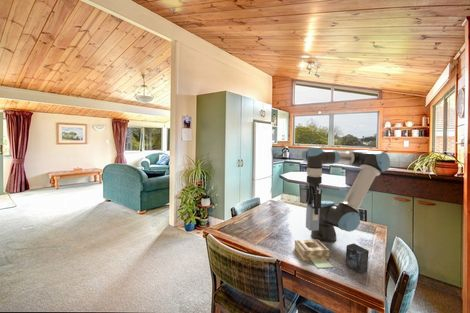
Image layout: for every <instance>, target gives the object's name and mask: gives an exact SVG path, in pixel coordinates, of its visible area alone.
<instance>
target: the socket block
mask: <svg viewBox="0 0 470 313" xmlns="http://www.w3.org/2000/svg"><path fill="white" fill-rule="evenodd" d="M294 250H295V252H297V254H298V255H299V256H300V257H301V259H302V261H311V259H326V260H329V259H330V249H329V248H328V247H327V246H326V245H325V244H323V242H322V241H320V240H317V239H297V240H295V239H294Z"/></svg>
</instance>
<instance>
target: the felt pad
mask: <svg viewBox="0 0 470 313" xmlns="http://www.w3.org/2000/svg"><path fill="white" fill-rule="evenodd" d="M310 261H311V262H312V263H313V264H314V267H316V268H317V269H330V268H332V269H333V268H334V266H333V265H332V264H331V262H330V261H328V259H311V260H310Z"/></svg>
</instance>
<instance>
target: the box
mask: <svg viewBox="0 0 470 313" xmlns="http://www.w3.org/2000/svg"><path fill="white" fill-rule="evenodd" d="M368 263H369V249H366V248H365V247H362V246H360V245H358V244H356V243H355V242H354V243H351V244H347V245H346V251H345V266H347V267H348V268H350V269H352V270H353V271H355V272H356V273H358V274H362V273H363V274H364V273H366V272H368V267H369V266H368V265H369V264H368Z"/></svg>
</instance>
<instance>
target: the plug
mask: <svg viewBox="0 0 470 313" xmlns="http://www.w3.org/2000/svg"><path fill="white" fill-rule="evenodd" d="M312 207H314V204H309V205H308V204H306V211H305V212H306V213H305V228H306V229H307V230H309V231H310V232H311V231H313V230H319V214H320V208H319V209H318V220H312V217H313V208H312Z"/></svg>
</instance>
